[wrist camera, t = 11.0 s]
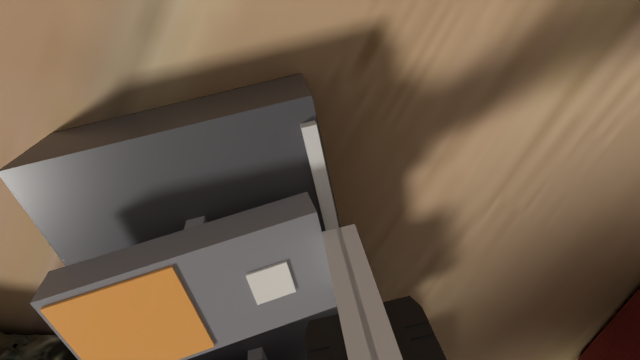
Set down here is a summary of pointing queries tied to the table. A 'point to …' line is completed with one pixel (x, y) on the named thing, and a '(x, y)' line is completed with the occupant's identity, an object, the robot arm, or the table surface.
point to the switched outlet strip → (180, 180)
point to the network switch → (33, 347)
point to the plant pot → (618, 335)
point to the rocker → (193, 287)
